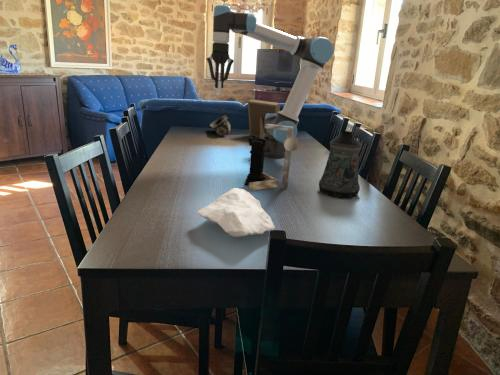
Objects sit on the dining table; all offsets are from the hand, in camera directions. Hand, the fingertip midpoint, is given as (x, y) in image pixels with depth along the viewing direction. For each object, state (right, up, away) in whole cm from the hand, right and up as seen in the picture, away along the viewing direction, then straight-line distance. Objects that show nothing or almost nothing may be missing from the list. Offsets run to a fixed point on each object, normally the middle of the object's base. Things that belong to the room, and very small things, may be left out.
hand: (218, 95), depth 177 cm
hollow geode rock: (-6, -8, +79) cm, 79 cm away
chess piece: (+17, -43, -21) cm, 51 cm away
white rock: (+10, -56, -62) cm, 84 cm away
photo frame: (+23, -12, +73) cm, 77 cm away
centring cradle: (+21, -43, -21) cm, 52 cm away
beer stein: (+51, -46, -24) cm, 73 cm away
